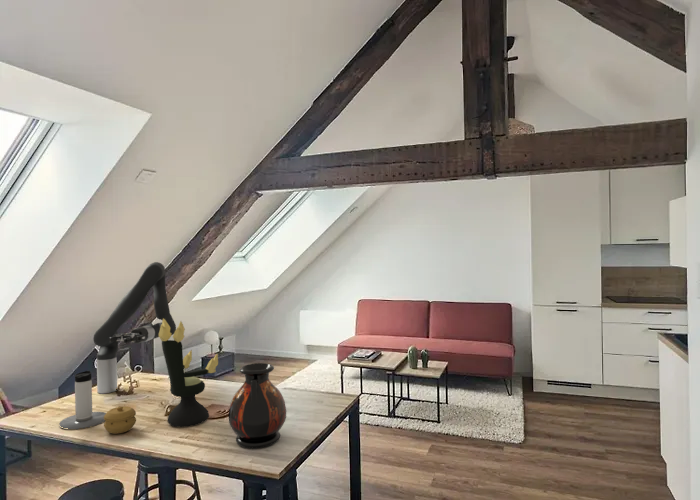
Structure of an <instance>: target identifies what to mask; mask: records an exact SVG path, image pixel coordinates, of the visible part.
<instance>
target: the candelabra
mask: <svg viewBox="0 0 700 500" xmlns="http://www.w3.org/2000/svg"><path fill="white" fill-rule="evenodd" d="M161 322H162V324H161V327H160V331H159V337H158V338H159V339H160V341H161V347H162V352H163V357H164V361H165V365H166V369H167V373H168V377H169V383H170V389H169V390H170V393H171V394H172V395H173V396H174V397H179V398H180V401H179V403H178V404H177V405H176V406H175V407H174V408H173V409H172V411H171V410H170V412H169V415H167V421H166V422H167V423H168V425H170V426H171V427H175V428H187V427H188V428H189V427H193V426H197V425H200V424H202V423H205V422H206V421H207V420H208V418H209V417H210V412H209V411H208V410H209V409H207V407H206V406H204V405H203V404H201V402H199V401H197V398H196V395H199V394H201V393H202V392H204V390H205V389H206V384H205V382H204V381H203V380H202V379H201V378H199V376H205V375H208V374H214V373H216V372H217V371H216V369H217V366H218V365H219V358H218V357H219V355H218V353H216V354H215V356H214V357H212V358H211V359H210V360H209V361H208V362H207V365H206V367H205V368H201V369H197V370H196V369H195V370H191V371H186V372H185V370H186V369H189V368H190V365H191V364H190V363H191V362H192V359H193V357H192V355H193V351H192V349H191V350H189V352H188V353H187V354H186V355H185V356H184V357H183V353H184V352H183V343H182V341H183V340H184V338H185V335H184V333H185V330H186V329H185V326H184V324H183V322H182V320H180V322H179V324H178V326H177V327H176V331H175V333H174V334H173V335H171V334H172V333H170V326H169V325H168V323H167V322H166V320H165V319H164V318H163V321H162V320H161ZM171 337H172V338H173V340H171Z"/></svg>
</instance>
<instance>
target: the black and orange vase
mask: <svg viewBox="0 0 700 500" xmlns="http://www.w3.org/2000/svg"><path fill="white" fill-rule="evenodd" d="M274 370H275V367H274V365H272V364H270V363H264V362H261V363H260V362H257V363H248V364H246V365H243V366H241V367H240V368H239V372H240V374H243V375H244V379H245V380H244V382H243V384H242V385H241V386H240V387H239V389H237V391H236V392H235V394H234V395H233V396H232V399H231V402H230V405H229V410H228V415H227V416H228V423H229V426H230V428H231V430H232V431H233V432H234V433H235V434H236V437H235V441H236V444H237V445H238V446H240V447H242V448H245V449H263V448H266V447H269V446H272V445H274V444H276V443H277V442H278V441H279V440H280V438H281V432H280V430H281V429H282V428H283V425H284V424H285V422H286V419H287V407H286V406H287V405H286V402H285V398H284V396H283V394H282V393H281V391H280V390H279V389H278V388H277V386H275V385H274V383H273V382H272V381H271V380H270V377H269V376H270V373H272V372H273V371H274Z"/></svg>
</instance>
